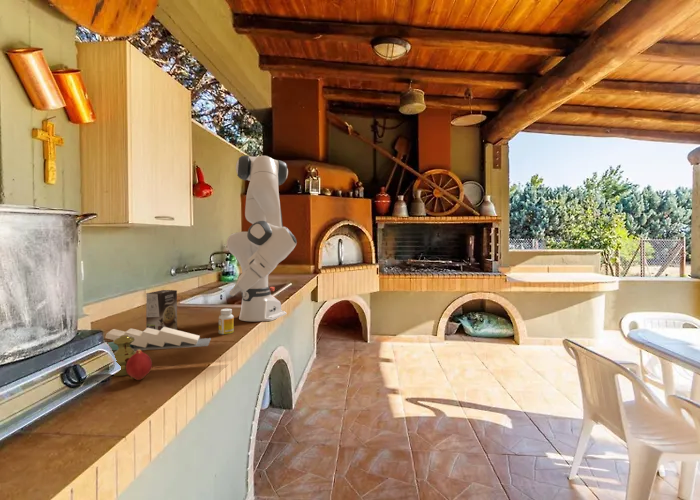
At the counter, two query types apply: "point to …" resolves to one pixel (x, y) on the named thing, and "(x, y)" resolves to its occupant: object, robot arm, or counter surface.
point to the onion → (138, 365)
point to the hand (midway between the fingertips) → (230, 294)
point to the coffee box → (161, 309)
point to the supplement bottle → (226, 322)
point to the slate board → (150, 347)
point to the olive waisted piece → (123, 352)
